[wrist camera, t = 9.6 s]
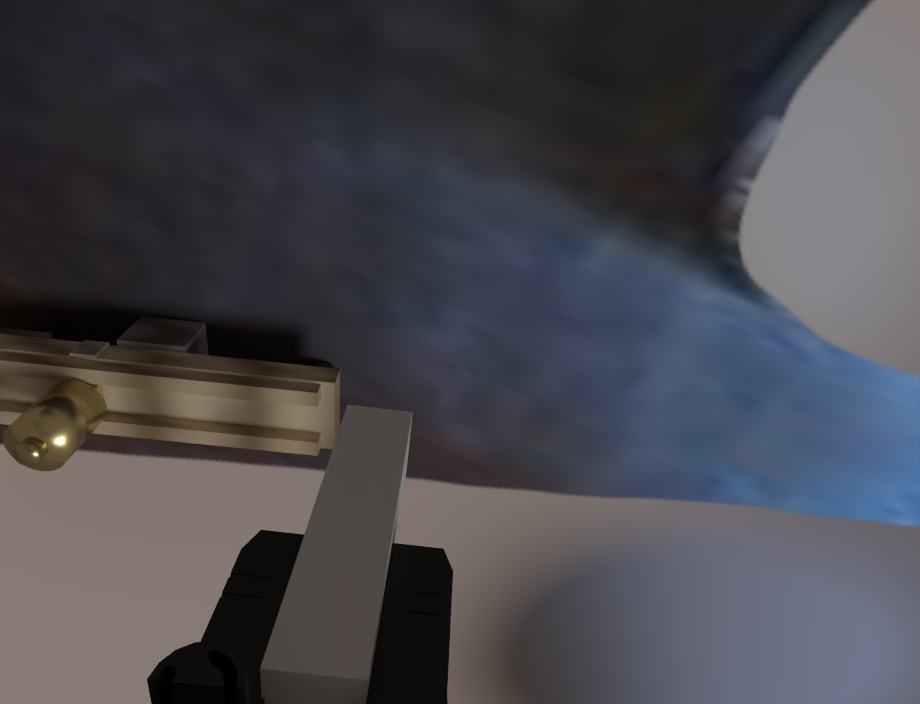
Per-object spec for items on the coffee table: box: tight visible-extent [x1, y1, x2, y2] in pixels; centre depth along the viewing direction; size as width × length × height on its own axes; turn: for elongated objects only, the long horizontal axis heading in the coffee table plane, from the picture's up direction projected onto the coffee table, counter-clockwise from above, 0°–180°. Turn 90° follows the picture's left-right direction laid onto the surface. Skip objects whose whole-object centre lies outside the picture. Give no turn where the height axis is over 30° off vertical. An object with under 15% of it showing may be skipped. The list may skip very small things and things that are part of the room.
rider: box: [3, 380, 107, 471], centre depth 43 cm, size 4×4×7 cm
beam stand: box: [0, 316, 340, 456], centre depth 49 cm, size 28×7×7 cm, turn 84°
